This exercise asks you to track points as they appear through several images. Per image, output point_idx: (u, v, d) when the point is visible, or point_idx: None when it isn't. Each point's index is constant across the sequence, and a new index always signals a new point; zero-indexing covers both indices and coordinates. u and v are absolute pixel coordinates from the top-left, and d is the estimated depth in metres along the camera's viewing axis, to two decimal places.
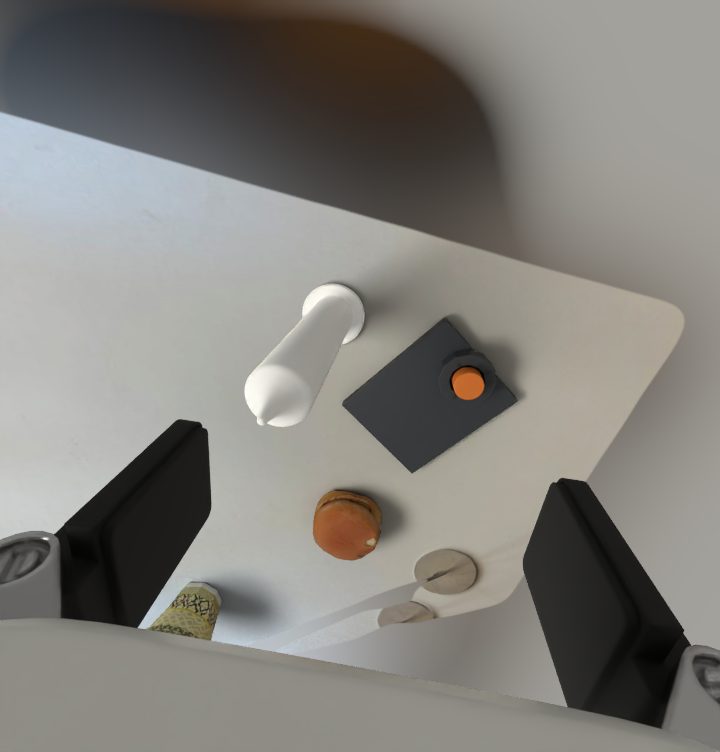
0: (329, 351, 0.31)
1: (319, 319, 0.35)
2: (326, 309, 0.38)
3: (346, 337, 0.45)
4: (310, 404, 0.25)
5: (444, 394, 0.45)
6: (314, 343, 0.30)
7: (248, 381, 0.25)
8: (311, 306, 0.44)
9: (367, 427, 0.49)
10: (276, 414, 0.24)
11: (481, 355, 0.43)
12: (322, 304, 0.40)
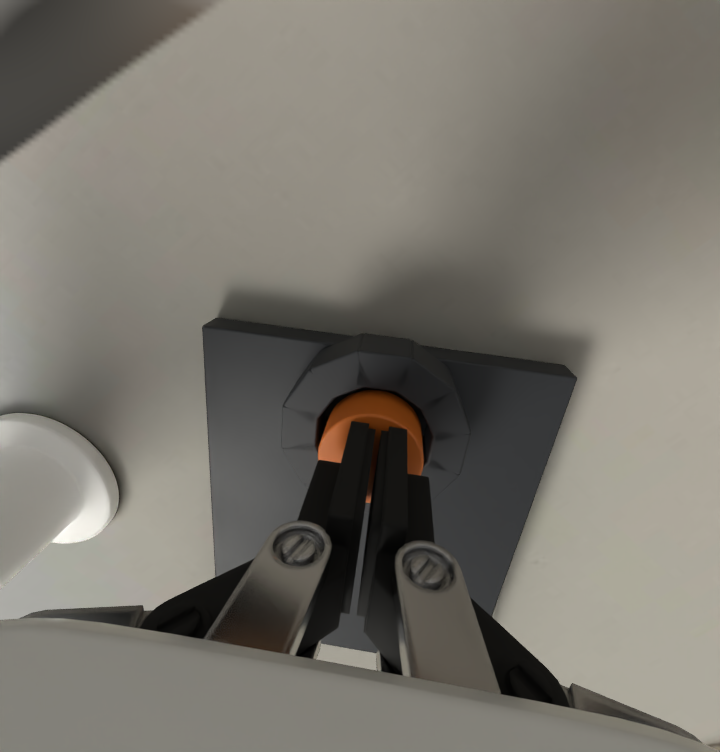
0: None
1: None
2: None
3: (95, 506, 0.18)
4: None
5: None
6: None
7: None
8: None
9: None
10: None
11: (352, 344, 0.13)
12: None
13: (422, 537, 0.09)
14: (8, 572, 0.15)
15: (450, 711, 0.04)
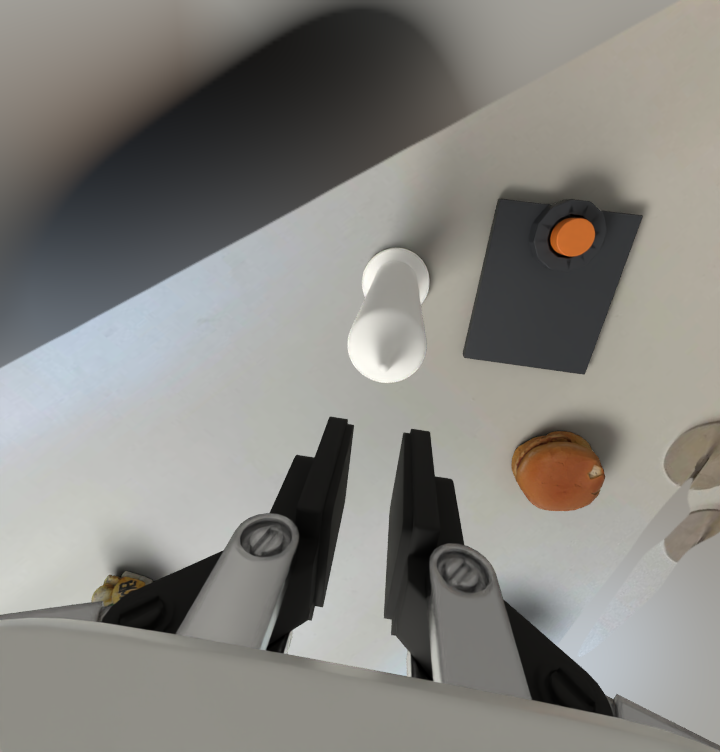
0: (408, 290, 0.28)
1: (381, 279, 0.32)
2: (382, 272, 0.36)
3: (421, 292, 0.42)
4: (421, 330, 0.22)
5: (556, 268, 0.37)
6: (388, 289, 0.27)
7: (350, 352, 0.23)
8: None
9: (504, 361, 0.43)
10: (394, 356, 0.21)
11: (564, 200, 0.36)
12: (377, 274, 0.37)
13: (451, 540, 0.09)
14: None
15: (450, 711, 0.04)
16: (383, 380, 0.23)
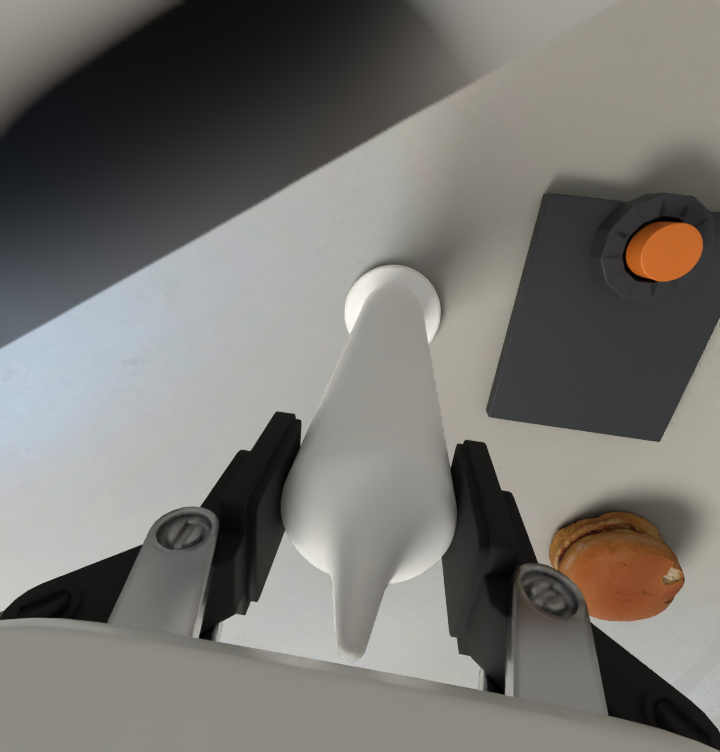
0: (412, 355, 0.16)
1: (366, 324, 0.20)
2: (371, 307, 0.23)
3: (428, 328, 0.29)
4: (446, 492, 0.09)
5: (632, 297, 0.25)
6: (375, 359, 0.14)
7: (286, 527, 0.10)
8: None
9: (545, 422, 0.31)
10: (382, 584, 0.08)
11: (650, 195, 0.23)
12: (364, 306, 0.25)
13: (524, 557, 0.08)
14: None
15: (450, 711, 0.04)
16: None
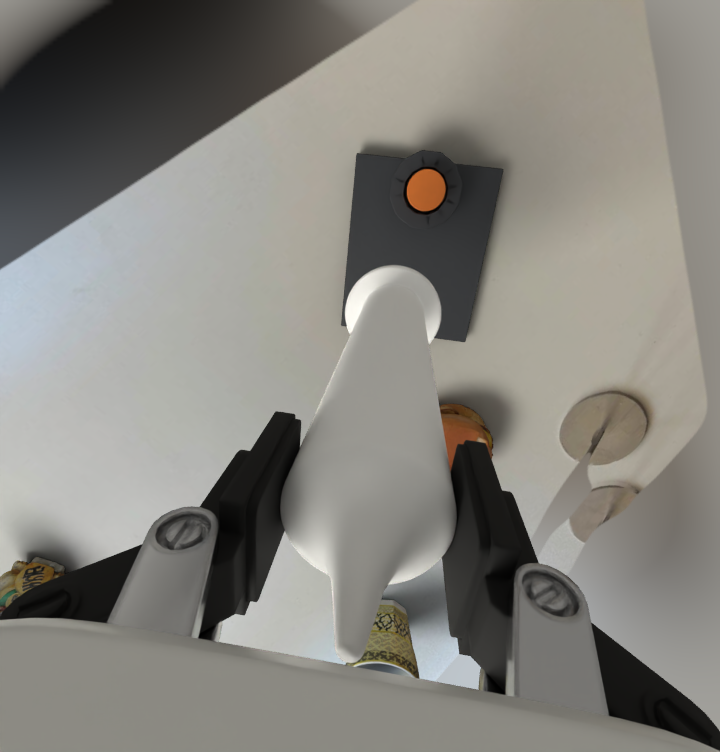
0: (412, 355, 0.16)
1: (367, 324, 0.20)
2: (372, 307, 0.23)
3: (429, 328, 0.29)
4: (446, 493, 0.09)
5: (415, 225, 0.36)
6: (375, 360, 0.14)
7: (285, 528, 0.10)
8: None
9: None
10: (381, 585, 0.08)
11: None
12: (364, 307, 0.25)
13: (524, 557, 0.08)
14: None
15: (450, 711, 0.04)
16: None
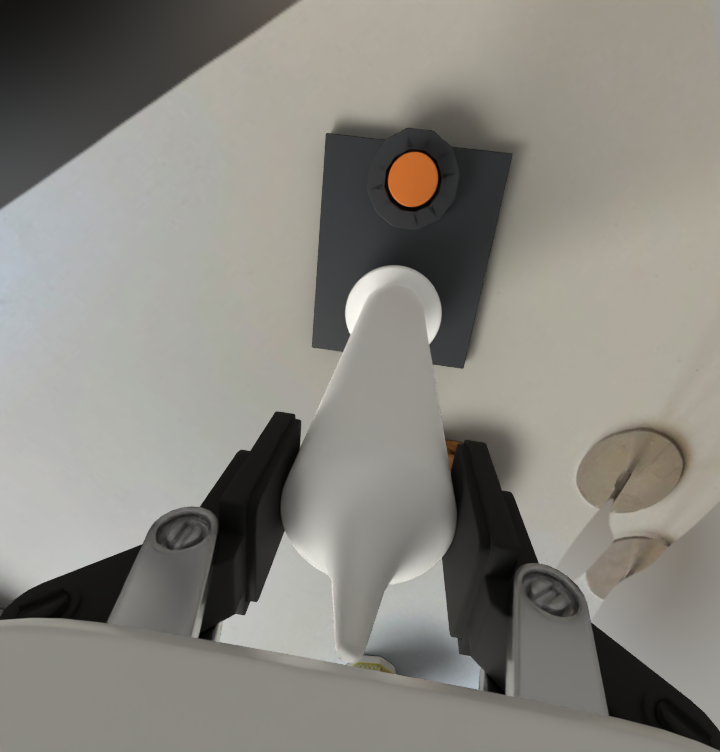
0: (412, 355, 0.16)
1: (367, 324, 0.20)
2: (372, 307, 0.23)
3: (429, 328, 0.29)
4: (446, 493, 0.09)
5: (400, 225, 0.28)
6: (375, 360, 0.14)
7: (285, 528, 0.10)
8: None
9: None
10: (382, 585, 0.08)
11: None
12: (364, 307, 0.25)
13: (524, 558, 0.08)
14: None
15: (450, 712, 0.04)
16: None
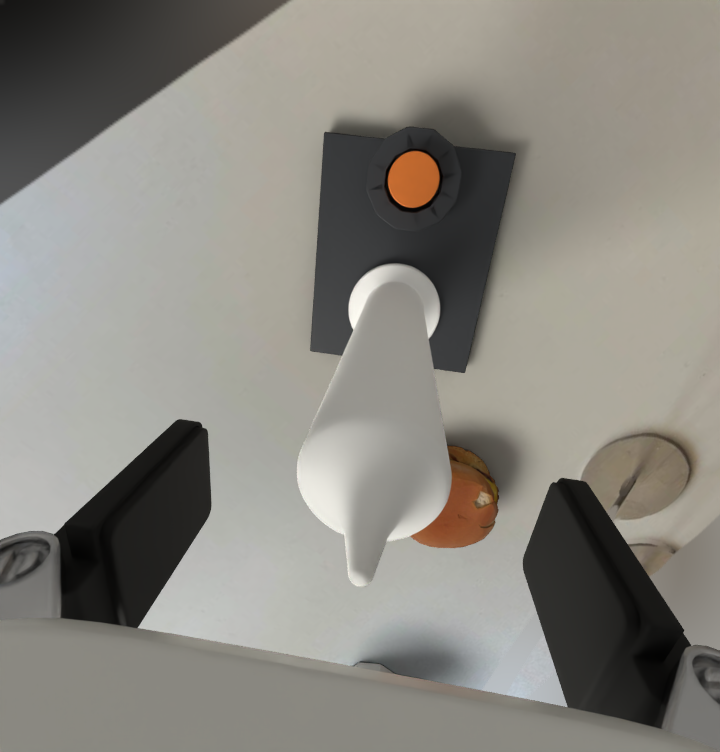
0: (412, 344, 0.17)
1: (370, 317, 0.21)
2: (374, 302, 0.25)
3: (428, 324, 0.31)
4: (442, 456, 0.11)
5: (401, 226, 0.27)
6: (378, 347, 0.16)
7: (301, 490, 0.12)
8: None
9: None
10: (386, 529, 0.10)
11: None
12: (367, 302, 0.26)
13: None
14: None
15: (450, 711, 0.04)
16: None
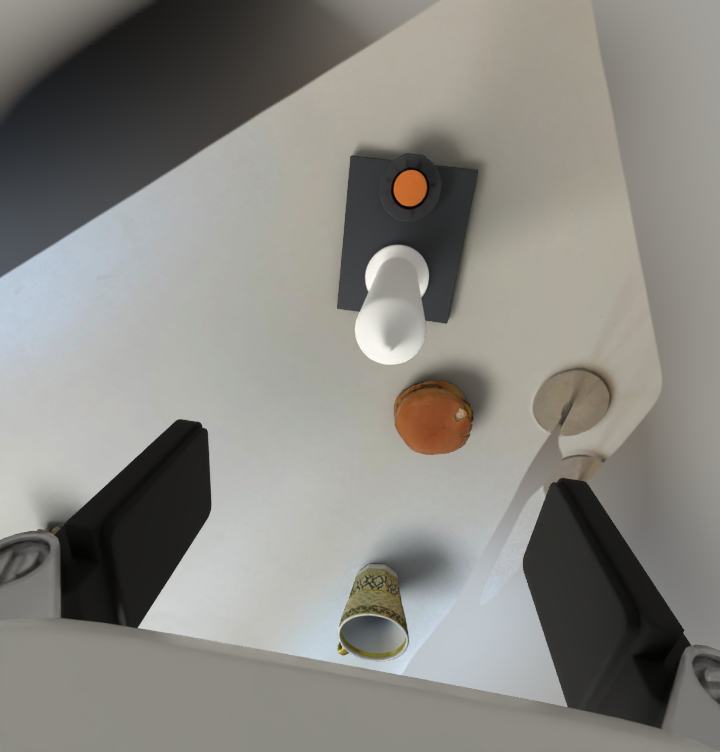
0: (409, 282, 0.31)
1: (383, 273, 0.35)
2: (385, 267, 0.38)
3: (421, 287, 0.44)
4: (421, 316, 0.24)
5: (402, 218, 0.41)
6: (391, 281, 0.29)
7: (357, 336, 0.25)
8: None
9: None
10: (397, 339, 0.23)
11: None
12: (379, 269, 0.40)
13: None
14: None
15: (450, 712, 0.04)
16: (387, 362, 0.26)
